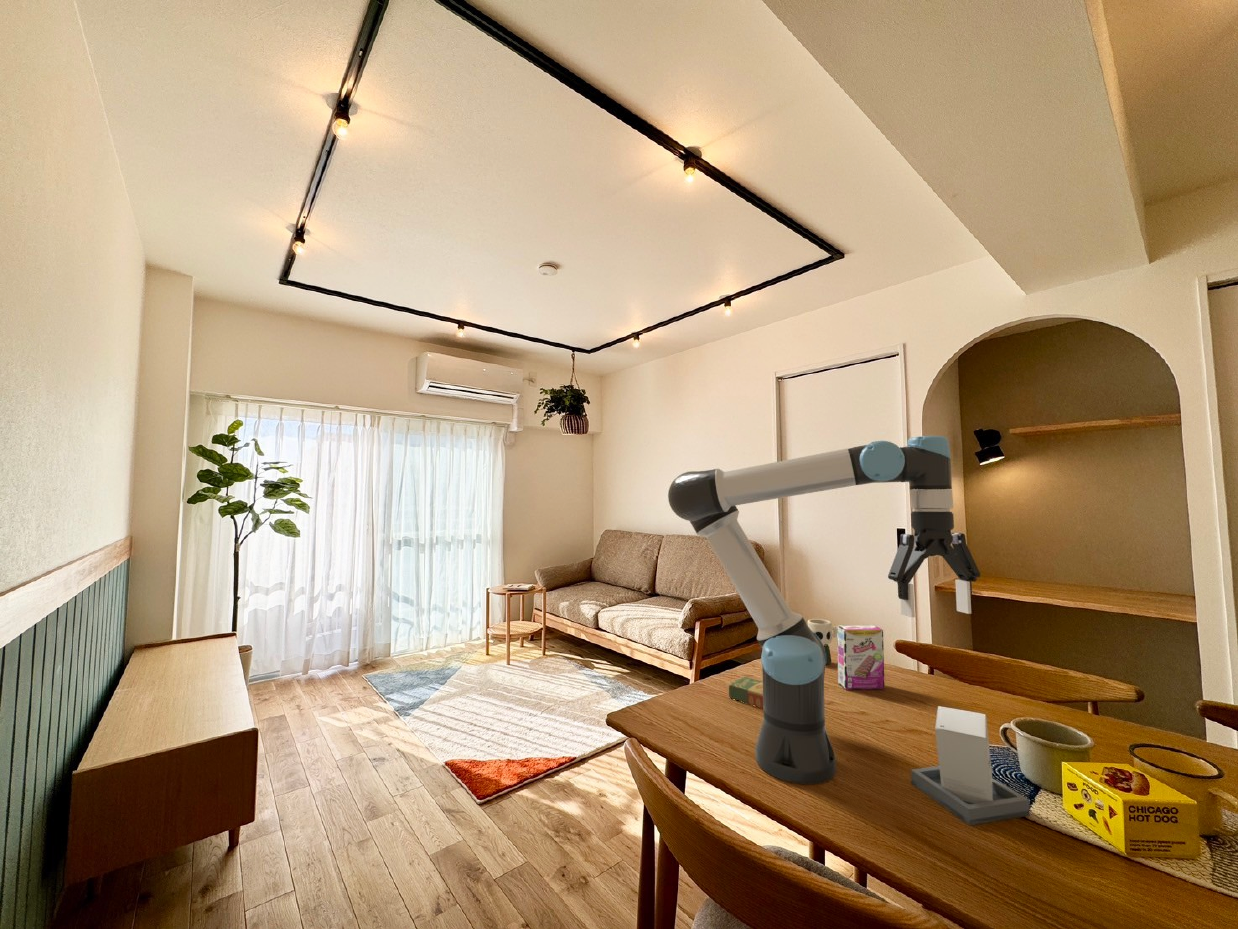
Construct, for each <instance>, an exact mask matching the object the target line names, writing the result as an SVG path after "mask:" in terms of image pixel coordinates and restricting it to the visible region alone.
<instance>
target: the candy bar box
mask: <svg viewBox="0 0 1238 929" xmlns="http://www.w3.org/2000/svg"><path fill="white" fill-rule="evenodd" d="M836 631H837V636H836V639H837V640H836V642H837V683H838V685H839V684H840V685H839V686H841V687H842V688H843V689H844V690H849V691H850V690H859V689H860V690H885V661H884V660H885V657H884V656H885V654H884V653H885V652H884V650H885V649H884V630H883V629H882V628H881V627H878V626H876V625H872V624H870V625H869V624H868V625H866V624H865V625H864V624H863V625H854V624H853V625H849V624H848V625H847V624H845V625H844V624H843V625H841V624H840V625H836ZM860 690H859V691H860Z"/></svg>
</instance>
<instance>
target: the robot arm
mask: <svg viewBox="0 0 1238 929" xmlns="http://www.w3.org/2000/svg"><path fill="white" fill-rule="evenodd" d="M877 483H878V484H879V483H880V484H881V483H883V484H884V483H908V484H909V497H910V500H909V501H910V502H909V503H910V508H911V509H912V510H913V511H912V512H911V513H910V523H911V524H910V526H911V528H912V529H913V530H914V533H913V534H907V533H901V534H900V536H899V546H898V549H897V550H896V553H895V556H894V559H893V561H892V565H891V567H890V570H889V572H888V575H887V578H888V579H889V580H891V581H894V583H895V582H896V583H897V597H898V599H900V609H901V610H900V611H901V612H900V614H901V615H902V616H905V617H909V618H915V617H916V616H915V615H916V611H915V591H914V590H915V589H914V583H913V584H912V583H911V581H912V579H913V578H914V576H915V575H916V573H917V572H918V570H920V567H921V566H922V564H923V562H924V561H925V560H926V559H928V558H929V557H935V556H938V557H939V556H941V557H942V558H943V559H944V561H945V562H946V563H947V564H948V566H949V567H950V569H951V570H952V571H953V572H954V574H955V575H956V577H958V578H959V579H955V581H954V582H955V602H956V612H960V613H964V614H968V615H969V614H970V615H971V614H972V604H971V603H972V601H971V600H972V598H971V597H972V595H973V589H972V588H973V585H972V582H977V580H978V578H980V577H981V572H980V570H979V568H978V566H977V563H976V562H975V559H974V557H973V555H972V553H971V551H970V549H969V547H968V545H967V539H966V535H965V533H961V532H952V531H951V530H954V528H955V523H954V521H955V520H954V516H955V515H954V513H953V511H951V510H952V509H953V508H954V498H953V496H954V495H953V487H952V483H953V482H952V456H951V450H950V441H949V439H948V438H947V437H945V436H943V435H923V436H914V437H910V438H909V439H908V440H907V444H906V446H903V447H899V446H898V445H897V444H895V443H894V442H892V441H887V440H875V441H872V442H870V443H868V444H865V445H860V446H854V447H851V448H850V447H849V448H843V449H837V450H833V451H827V452H821V453H817V454H812V455H806V456H801V457H795V458H791V459H786V460H781V461H773V462H770V463H764V464H759V465H755V466H749V467H744V468H738V469H734V470H728V471H723V470H722V469H721V468H713V469H707V470H699V471H695V470H694V471H693V470H692V471H687V472H683V473H681V474H680V475H678V476H677V477H676V478H674V479H673V481H672V482H671V484H670V486H669V489H668V494H667V496H668V498H667V499H668V504H669V506H670V509H671V510H672V512H673V513H674V514H675V515H676V516H678V517H679V518H681V519H682V520H685V521H687V522H688V521H689V523H690V524H691V526H692V528H693V529H694V532H695V533H696V534H697V536H700V537H703V538H706V540H707V541H708V543H709V546H710V547H711V548H712V550H713V552H714V554H715V556H716V557H717V559H718V560H719V562H720V564H721V566H722V567H723V569H724V571H725V573H726V575H727V576H728V578H729V580H730V581H731V583H732V585H733V587H734V589H735V591H736V592H737V594H738V595H739V597H740V599H741V601H742V602H743V605H744V606H745V608H746V610H747V611H748V613H749V614H750V616H751V618H752V620H753V622H754V624H755V625H756V627H757V628H758V629H757V630H758V631H757V635H756V640H757V641H758V643H759V645H760V646H761V650H762V652H761V655H760V656H761V657H760V660H761V661H760V662H761V666H762V681H763V709H764V710H763V709H762V710H763V720H762V723H761V727H760V731H759V733H758V737H757V740H756V744H755V761H756V763H757V765H758V766H759V767H760V769H761V770H763V771H764V772H766V773H767V774H768V775H770V776H772V777H775V778H777V779H780V780H782V781H785V782H789V783H793V784H799V785H800V784H801V785H816V784H817V785H818V784H823V783H826V782H828V781H831V780H832V779H833V778H834V777H835V775H836V774H837V758H836V754H835V751H834V749H833V746H832V743H831V740H830V737H829V734H828V732H827V728H826V714H825V713H826V710H825V708H826V706H825V673H826V671H825V670H826V665H827V663H826V652H825V648H824V646H823V643H822V642H821V640H820V639H819V637H818V636H817V635H816V634H815V633H814V632H813V631H812V630H810V628H809V627H808V622H807V621H806V620H805V618H804V617H803V616H802V614H799V613H797V612H794V611H792V610H791V607H790V606H789V604H788V603H787V601H786V600H785V597H784V596H783V595H782V593H781V591H780V590H779V588H778V586H777V585H776V583H775V582H774V579H773V578H772V576H771V575H770V573H769V571H768V570H767V568H766V566H765V564H764V563H763V561H762V559H761V558H760V557H759V555H758V552H757V551H756V550H755V548H754V546H753V545H752V543H751V541H750V540H749V538H748V537H747V534H746V532H745V531H744V530H743V528H742V527H741V525H740V523H739V521H738V518H739V514H740V511H739V509H738V508H737V507H738V506H741V505H747V504H753V503H758V502H764V501H765V502H766V501H770V500H776V499H783V498H788V497H789V498H790V497H794V496H799V495H800V496H801V495H805V494H812V493H818V492H819V493H820V492H824V491H830V490H836V489H842V488H847V487H848V488H849V487H854V486H855V487H856V486H861V485H867V484H869V485H870V484H877Z"/></svg>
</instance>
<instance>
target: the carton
mask: <svg viewBox="0 0 1238 929" xmlns="http://www.w3.org/2000/svg"><path fill="white" fill-rule="evenodd" d="M728 697H730V698H732V699H735V700H739V701H742V702H744V703H743V704H745V703H747V704H746V705H748V704H750V705H749V706H751V705H755V706H757V707H759V708H758V709H760V708H762V709H761V710H763V680H759V679H754V678H752V677H749V676H743V677H741V678H740V679H737V680H736V681H733V682H731V683H729V685H728ZM730 698H729V699H730ZM732 699H731V700H732ZM735 700H734V701H735ZM739 701H738V702H739ZM742 702H741V703H742ZM757 707H756V708H757Z"/></svg>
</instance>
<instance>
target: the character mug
mask: <svg viewBox="0 0 1238 929" xmlns="http://www.w3.org/2000/svg"><path fill="white" fill-rule="evenodd" d="M807 625H808V627H809V628H810V630H812V631H813V632H814V633H815V634H816V635H817V636H818V637H819V639H820V640H821V642H822V643H823V646H824V648H825V652H826V665H830V664H832V656H831V650H830V646H829V644H831V643H832V641H833V638H837V626H833V625H832V622H831V621H829V620H827V619H821V618H811V619H808V620H807Z"/></svg>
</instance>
